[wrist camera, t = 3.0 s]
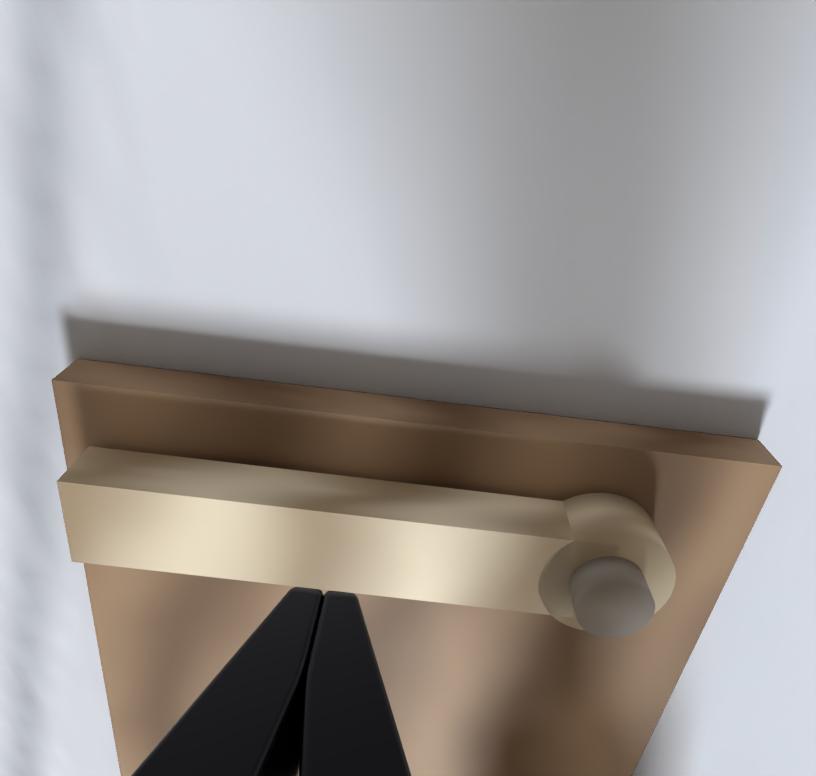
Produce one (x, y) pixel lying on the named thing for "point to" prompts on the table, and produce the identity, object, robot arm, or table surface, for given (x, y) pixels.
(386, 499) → the link
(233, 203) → the table surface
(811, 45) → the table surface
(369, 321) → the table surface
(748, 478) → the board
